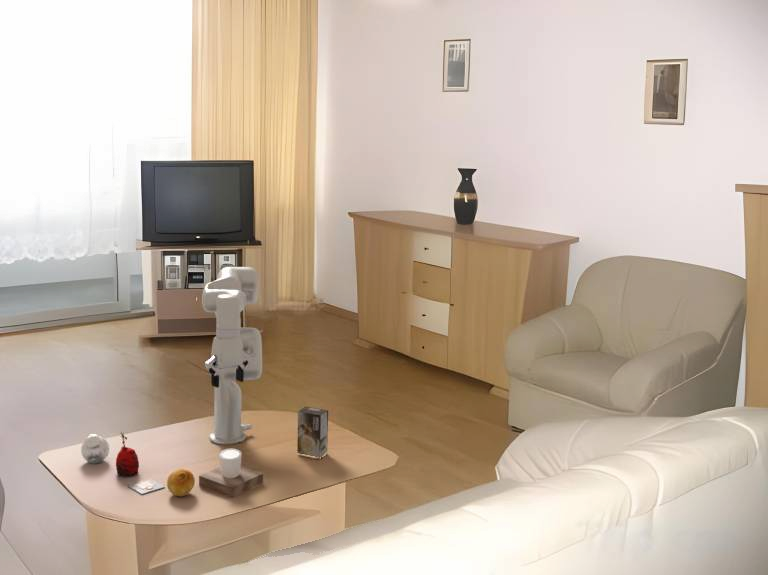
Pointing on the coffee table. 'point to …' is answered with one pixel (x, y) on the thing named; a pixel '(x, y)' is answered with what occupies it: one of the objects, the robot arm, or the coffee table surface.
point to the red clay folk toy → (127, 461)
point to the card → (146, 486)
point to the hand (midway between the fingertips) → (227, 383)
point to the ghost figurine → (95, 448)
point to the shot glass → (230, 462)
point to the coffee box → (312, 431)
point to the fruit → (180, 482)
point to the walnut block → (231, 481)
